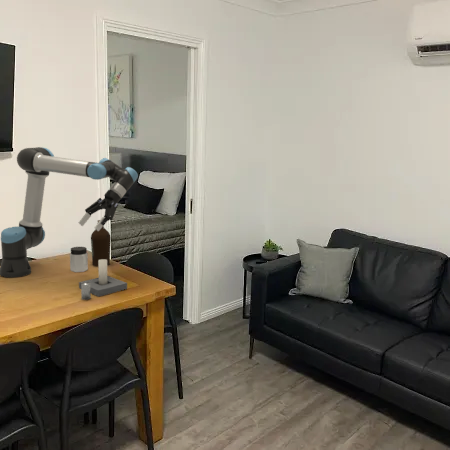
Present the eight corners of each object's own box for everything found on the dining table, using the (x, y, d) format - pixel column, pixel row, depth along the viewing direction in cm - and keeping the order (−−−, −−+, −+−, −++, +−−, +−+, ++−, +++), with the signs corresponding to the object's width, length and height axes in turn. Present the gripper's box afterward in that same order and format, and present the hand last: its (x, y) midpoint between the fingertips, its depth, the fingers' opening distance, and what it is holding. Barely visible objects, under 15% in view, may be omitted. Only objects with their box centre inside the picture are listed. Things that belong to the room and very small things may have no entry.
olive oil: (112, 261, 274) (111, 218, 269) (109, 267, 264) (108, 222, 259) (93, 261, 273) (92, 218, 268) (89, 266, 263) (88, 222, 258)
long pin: (97, 288, 228) (96, 260, 225) (104, 286, 231) (103, 258, 228) (102, 290, 225) (101, 261, 223) (109, 288, 228) (108, 260, 226)
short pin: (79, 298, 214) (79, 283, 213) (87, 296, 217) (87, 281, 216) (84, 300, 212) (84, 285, 210) (92, 298, 215) (92, 283, 213)
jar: (82, 273, 251) (81, 250, 249) (67, 271, 252) (67, 249, 250) (90, 268, 260) (89, 247, 257) (76, 267, 261) (75, 245, 259)
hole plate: (79, 288, 227) (78, 282, 227) (107, 281, 239) (107, 275, 239) (98, 296, 217) (98, 290, 216) (127, 289, 229) (127, 283, 228)
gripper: (134, 202, 231) (108, 236, 223) (104, 195, 248) (78, 227, 239) (126, 192, 227) (98, 226, 218) (96, 185, 243) (69, 217, 234)
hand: (88, 227), depth 229 cm, fingers open, 13 cm apart
